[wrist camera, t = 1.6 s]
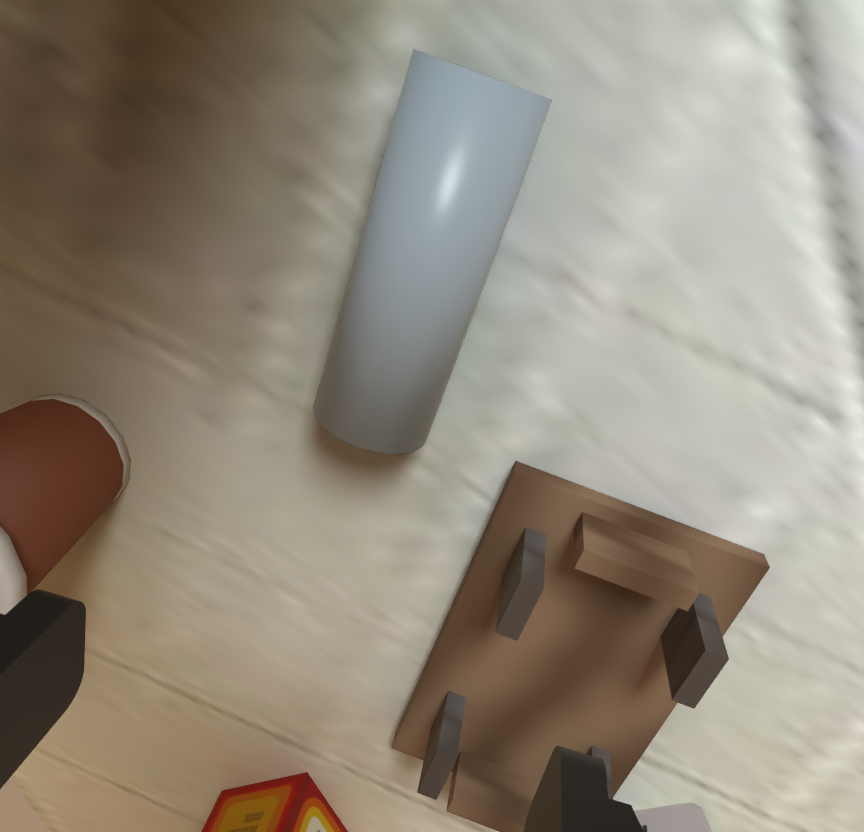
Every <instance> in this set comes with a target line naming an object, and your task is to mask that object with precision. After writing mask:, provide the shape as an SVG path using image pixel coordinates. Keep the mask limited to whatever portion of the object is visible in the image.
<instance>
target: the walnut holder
mask: <svg viewBox="0 0 864 832" xmlns="http://www.w3.org/2000/svg"><path fill="white" fill-rule="evenodd" d="M769 568H770V567H769V565H768V562H767V560H766V558H765V556H764V554H761V553H759V552H756V551H753V550H751V549H748V548H745V547H743V546H740V545H737V544H735V543H732V542H729V541H727V540H724V539H721V538H719V537H716V536H714V535H711V534H708V533H706V532H703V531H700V530H698V529H695V528H692V527H690V526H687V525H684V524H682V523H679V522H676V521H674V520H671V519H668V518H666V517H663V516H660V515H658V514H655V513H652V512H650V511H647V510H645V509H642V508H639V507H637V506H634V505H631V504H629V503H626V502H623V501H621V500H618V499H615V498H613V497H610V496H607V495H605V494H602V493H599V492H597V491H594V490H591V489H589V488H586V487H584V486H581V485H578V484H576V483H573V482H570V481H568V480H565V479H562V478H560V477H557V476H554V475H552V474H549V473H546V472H544V471H541V470H538V469H536V468H533V467H530V466H528V465H525V464H522V463H520V462H517V461H516V462H515V464H514V467H513V469H512V471H511V473H510V476H509V478H508V480H507V482H506V485H505V487H504V489H503V491H502V494H501V496H500V498H499V501H498V503H497V505H496V507H495V510H494V512H493V514H492V516H491V519H490V521H489V523H488V525H487V528H486V530H485V532H484V534H483V537H482V539H481V541H480V544H479V546H478V548H477V550H476V553H475V555H474V557H473V559H472V562H471V564H470V566H469V568H468V571H467V573H466V575H465V578H464V580H463V582H462V584H461V587H460V589H459V591H458V593H457V596H456V598H455V600H454V602H453V605H452V607H451V609H450V612H449V614H448V616H447V618H446V621H445V623H444V625H443V627H442V630H441V632H440V634H439V636H438V639H437V641H436V643H435V646H434V648H433V650H432V652H431V655H430V657H429V659H428V661H427V664H426V666H425V668H424V670H423V673H422V675H421V677H420V680H419V682H418V684H417V686H416V689H415V691H414V693H413V695H412V698H411V700H410V702H409V704H408V707H407V709H406V711H405V714H404V716H403V718H402V720H401V723H400V725H399V727H398V729H397V732H396V734H395V738H394V742H393V745H392V748H393V749H396V750H399V751H401V752H404V753H406V754H409V755H412V756H414V757H417V758H419V759H422V760H424V763H423V767H422V772H421V777H420V782H419V786H418V791H417V793H420V794H422V795H425V796H427V797H430V798H433V799H435V800H436V799H437V797H438V795H439V793H440V791H441V789H442V787H443V786H444V784H445V782H446V780H447V778H448V776H449V774H450V772H451V771H453V775H452V781H451V787H450V793H449V799H448V805H447V812H450V813H452V814H455V815H458V816H460V817H463V818H465V819H468V820H471V821H473V822H476V823H478V824H481V825H484V826H486V827H489V828H491V829H494V830H496V831H499V832H524V827H525V822H526V818H527V814H528V811H529V808H530V805H531V803H532V801H533V798H534V796H535V793H536V791H537V788H538V786H539V784H540V781H541V779H542V776H543V774H544V771H545V769H546V766H547V764H548V762H549V759H550V757H551V754H552V752H553V750H554V748H555V747H556V746H560V747H564V748H567V749H571V750H574V751H577V752H581V753H584V754H587V755H591V756H594V757H597V758H601V759H603V760H604V763H605V767H606V776H607V789H608V799H612V800H613V797H614V795H615V794H616V792H617V791H618V789H619V788H620V786H621V785H622V783H623V782H624V781H625V779H626V778H627V776H628V775H629V773H630V772H631V770H632V769H633V767H634V766H635V764H636V763H637V761H638V760H639V759H640V757H641V756H642V754H643V753H644V751H645V750H646V748H647V747H648V745H649V744H650V742H651V741H652V739H653V738H654V737H655V735H656V734H657V732H658V731H659V729H660V728H661V726H662V725H663V723H664V722H665V720H666V719H667V717H668V716H669V715H670V713H671V712H672V710H673V709H674V707H675V706H676V704H677V703H681V704H683V705H686V706H689V707H691V708H695V707H696V705H697V704H698V702H699V701H700V700H701V698H702V697H703V695H704V694H705V692H706V691H707V690H708V688H709V687H710V685H711V684H712V682H713V681H714V680H715V678H716V677H717V675H718V674H719V672H720V671H721V670H722V668H723V667H724V665H725V664H726V662H727V661H728V660H729V658H728V655H727V651H726V648H725V644H724V641H723V638H722V637H723V635H724V634H725V632H726V631H727V630H728V628H729V627H730V625H731V624H732V622H733V621H734V619H735V618H736V616H737V615H738V613H739V612H740V611H741V609H742V608H743V606H744V605H745V603H746V602H747V600H748V599H749V597H750V596H751V594H752V593H753V591H754V590H755V589H756V587H757V586H758V584H759V583H760V581H761V580H762V578H763V577H764V575H765V574H766V572H767V571H768V569H769Z"/></svg>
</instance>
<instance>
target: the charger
mask: <svg viewBox="0 0 864 832" xmlns="http://www.w3.org/2000/svg"><path fill="white" fill-rule="evenodd" d="M634 812H635V814H636V816H637V819H638V821H639V823H640V825H641V827H642V829H643V831H644V832H712V831H711V829H710V827H709V824H708V822H707V819H706V817H705V815H704V812H703V811H702V809H701V807H699V806H697V805H696V804H692V803H685V804H678V805H671V806H664V807H657V808H651V809H644V810H637V811H634ZM643 825H645V826H643Z"/></svg>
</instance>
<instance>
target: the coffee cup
mask: <svg viewBox="0 0 864 832" xmlns="http://www.w3.org/2000/svg"><path fill="white" fill-rule="evenodd" d="M130 461H131V459H130V456H129V453H128V450H127V447H126V444H125V442H124V439H123V436H122V435H121V434H120V432H119V431H118V430H117V429H116V427H115V426H114V425H113V423H112V422H111V421H110V420H109V418H108V417H107V416H106V415H104V414H103V413H102V412H100V411H99V410H97V409H96V408H94V407H93V406H92V405H90V404H89V403H87V402H86V401H83V400H80V399H77V398H73V397H70V396H67V395H63V394H55V395H45V396H39V397H37V398H35V399H33V400H32V401H29V402H27V403H25V404H23V405H20V406H18V407H16V408H13V409H11V410H9V411H6V412H4V413H2V414H0V613H1V614H4V615H5V614H7V613H8V612H9V611H10V610H11V609H12V608H13V607H14V606H16V605H17V604H18V603H19V602H20V601H21V600H22V599H23V598H24V597H26V596H27V595H28V594H29V593H31V592H32V590H33V589H34V588H35V587H36V586H37V585H38V584H39V583H40V582H41V580H42V579H43V578H44V577H45V576H46V575H47V574H48V573H49V572H50V571H51V569H52V568H53V567H54V566H55V565H56V564H57V563H58V562H59V561H60V560H61V558H62V557H63V556H64V555H65V554H66V553H67V552H68V551H69V550H70V548H71V547H72V546H73V545H74V544H75V543H76V542H77V541H78V540H79V539H80V537H81V536H82V535H83V534H84V533H85V532H86V531H87V530H88V529H89V527H90V526H91V525H92V524H93V523H94V522H95V521H96V520H97V519H98V518H99V516H100V515H101V514H102V513H103V512H104V511H105V510H106V509H107V508H108V507H109V505H110V504H111V503H112V502H113V501H114V500H115V499H116V498H118V497H119V496H120V494H121V493H122V491H123V489H124V488H125V486H126V484H127V483H128V481H129V477H130Z"/></svg>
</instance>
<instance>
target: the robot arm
mask: <svg viewBox="0 0 864 832" xmlns="http://www.w3.org/2000/svg"><path fill="white" fill-rule="evenodd" d="M85 621H86V609H85V605H84V604H83V603H82V602H80V601H77V600H73V599H70V598H67V597H63V596H60V595H57V594H53V593H50V592H46V591H43V590H35V591H33V592H31V593H29V594H28V595H27V596H26V597H24V598H23V599H22V600H21V601H20V602H19V603H18V604H17V605H16V606H14V607H13V608H12V609H11V610H10V611H9V612H8V613H7V614H5V615H4V614H1V613H0V789H1V788H2V786H3V785H4V784H5V783H6V782H7V780H8V779H9V778H10V777H11V776H12V774H13V773H14V772H15V771H16V770H17V768H18V767H19V766H20V765H21V764H22V762H23V761H24V760H25V759H26V758H27V756H28V755H29V754H30V753H31V752H32V750H33V749H34V748H35V747H36V746H37V744H38V743H39V742H40V741H41V740H42V738H43V737H44V736H45V735H46V734H47V732H48V731H49V730H50V729H51V728H52V726H53V725H54V724H55V723H56V722H57V720H58V719H59V718H60V717H61V716H62V714H63V713H64V712H65V711H66V709H67V708H68V707H69V705H70V704H71V702H72V701H73V699H74V697H75V695H76V693H77V691H78V689H79V686H80V684H81V681H82V677H83V673H84V653H85ZM524 832H644V831H643V829H642V827H641V825H640V823H639V821H638V819H637V816H636V814H635V812H634V810H633V808H632V806H631V805H628V804H625V803H622V802H618V801H615V800H612V799H608V789H607V776H606V767H605V763H604V760H603V759H601V758H597V757H594V756H591V755H587V754H584V753H581V752H577V751H574V750H571V749H567V748H564V747H560V746H556V747H555V748H554V750H553V752H552V754H551V757H550V759H549V762H548V764H547V766H546V769H545V771H544V774H543V776H542V779H541V781H540V784H539V786H538V788H537V791H536V793H535V796H534V798H533V801H532V803H531V805H530V808H529V811H528V814H527V818H526V822H525V827H524Z"/></svg>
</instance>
